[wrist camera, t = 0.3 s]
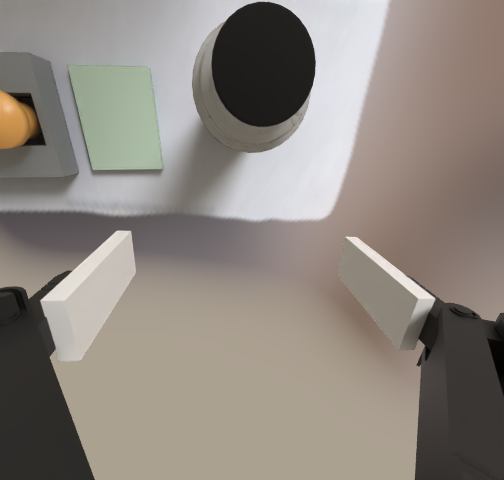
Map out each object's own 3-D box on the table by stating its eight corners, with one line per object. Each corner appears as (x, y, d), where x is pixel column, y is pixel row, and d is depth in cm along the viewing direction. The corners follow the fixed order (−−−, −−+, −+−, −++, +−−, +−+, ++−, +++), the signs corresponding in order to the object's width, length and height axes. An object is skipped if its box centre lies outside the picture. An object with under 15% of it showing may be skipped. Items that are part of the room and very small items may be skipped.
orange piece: (-14, 92, 31) (-57, 84, 26) (41, 93, 32) (9, 85, 27) (6, 147, 34) (-31, 149, 29) (57, 146, 34) (29, 148, 30)
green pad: (71, 67, 33) (67, 65, 32) (150, 68, 34) (148, 66, 33) (95, 169, 38) (92, 170, 37) (163, 168, 39) (162, 168, 38)
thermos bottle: (272, 125, 38) (373, 106, 13) (228, 153, 39) (237, 189, 13) (246, 71, 35) (308, -101, 10) (198, 102, 36) (137, 23, 10)
